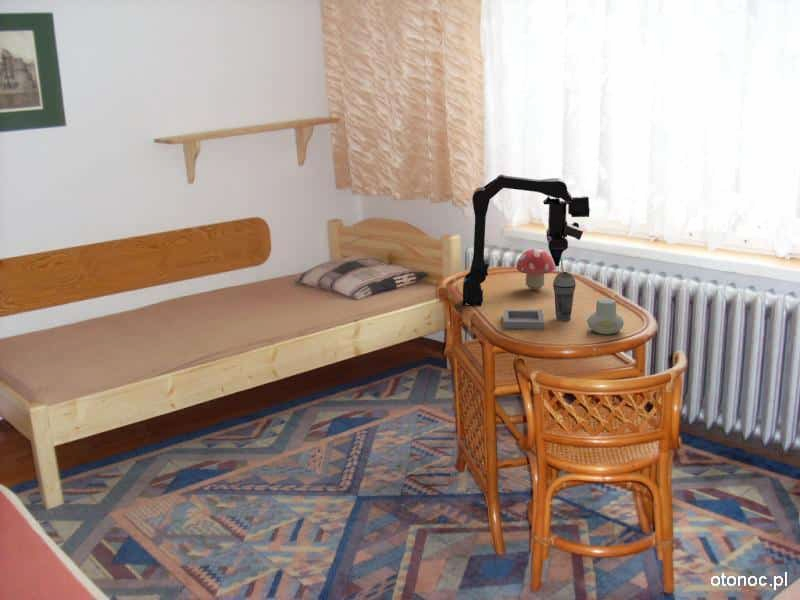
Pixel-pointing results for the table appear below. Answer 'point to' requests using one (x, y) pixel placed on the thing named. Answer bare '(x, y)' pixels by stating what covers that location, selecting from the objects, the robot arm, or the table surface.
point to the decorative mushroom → (535, 267)
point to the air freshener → (605, 317)
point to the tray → (523, 319)
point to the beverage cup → (563, 294)
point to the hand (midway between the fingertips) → (556, 262)
